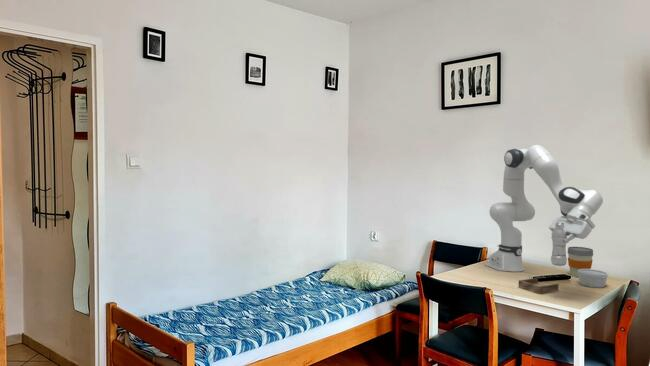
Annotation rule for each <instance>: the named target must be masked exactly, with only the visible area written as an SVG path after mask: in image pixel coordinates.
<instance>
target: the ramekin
mask: <svg viewBox="0 0 650 366" xmlns="http://www.w3.org/2000/svg"><path fill="white" fill-rule="evenodd" d="M578 273H579V277H578V282H579V284H580V285H582V286H585V287H589V288H599V289H600V288H604V287H605V286H606V285H607V280H608V279H607V278H608V275H609V274H608V272H607V271H604V270H599V269H594V268H593V269H592V268H590V269H579V270H578Z"/></svg>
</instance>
